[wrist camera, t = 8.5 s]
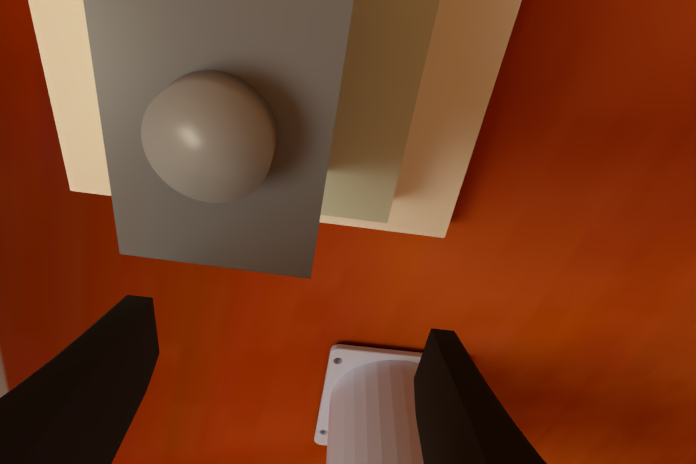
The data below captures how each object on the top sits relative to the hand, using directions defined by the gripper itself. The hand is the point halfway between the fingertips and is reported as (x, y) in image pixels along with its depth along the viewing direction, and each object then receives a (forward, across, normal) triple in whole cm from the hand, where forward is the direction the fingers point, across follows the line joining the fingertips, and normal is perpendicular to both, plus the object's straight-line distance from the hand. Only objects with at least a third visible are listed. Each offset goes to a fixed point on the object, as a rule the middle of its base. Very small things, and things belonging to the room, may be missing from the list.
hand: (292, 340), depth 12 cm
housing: (+6, +2, -5) cm, 9 cm away
